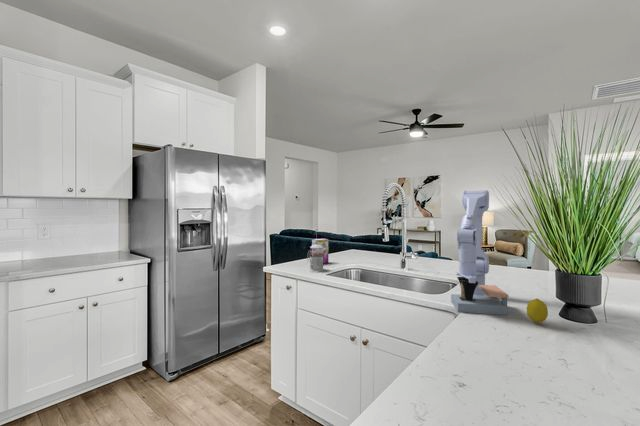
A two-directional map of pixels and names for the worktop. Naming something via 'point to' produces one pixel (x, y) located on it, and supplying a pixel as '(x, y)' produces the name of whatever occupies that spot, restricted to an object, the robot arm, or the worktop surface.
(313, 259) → the french press
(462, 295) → the peg
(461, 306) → the socket block
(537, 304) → the lemon
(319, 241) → the candy bar box
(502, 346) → the worktop surface
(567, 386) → the worktop surface
